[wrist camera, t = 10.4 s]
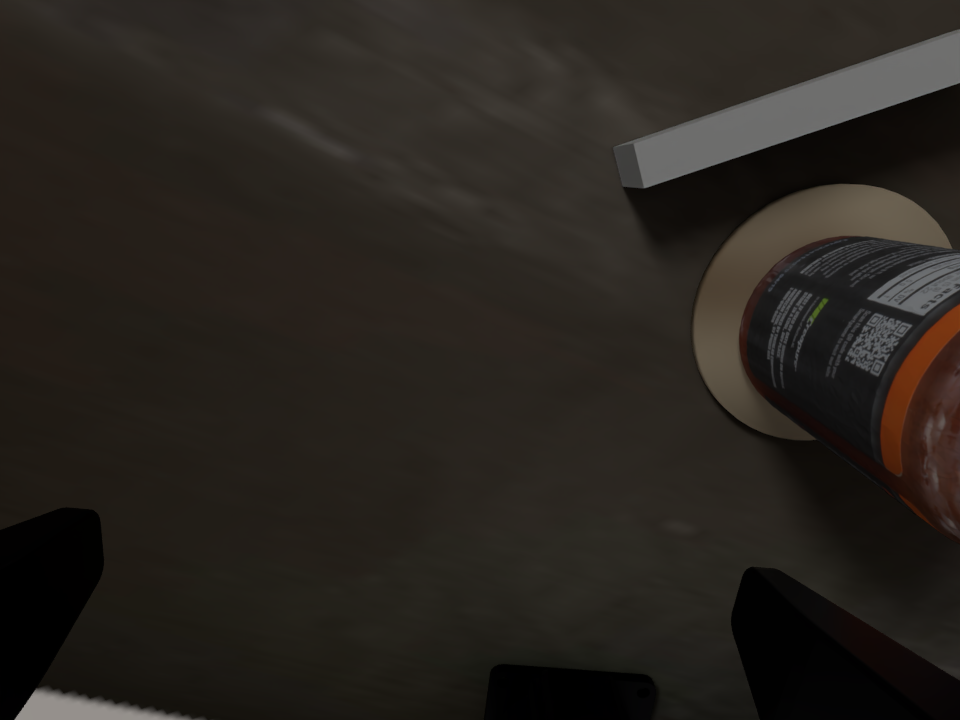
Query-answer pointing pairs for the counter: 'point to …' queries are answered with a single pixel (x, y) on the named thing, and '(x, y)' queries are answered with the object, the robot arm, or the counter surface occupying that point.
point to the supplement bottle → (868, 361)
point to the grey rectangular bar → (791, 112)
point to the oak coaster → (758, 252)
